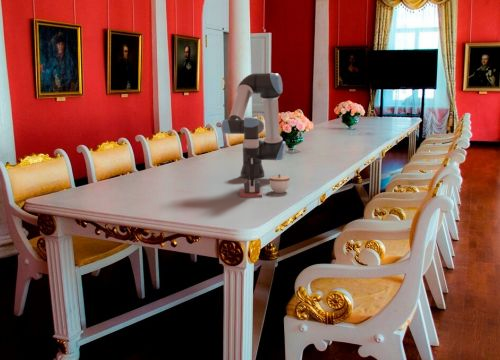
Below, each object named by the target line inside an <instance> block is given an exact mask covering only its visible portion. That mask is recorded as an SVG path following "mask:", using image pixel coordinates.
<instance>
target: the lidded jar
mask: <svg viewBox="0 0 500 360" xmlns="http://www.w3.org/2000/svg"><path fill="white" fill-rule="evenodd" d="M290 179H291V178H290V177H289V176H286V175H281V174H280V173H279V174H278V175H273V176H270V177H269V186H270V187H269V188H271V191H273V193H277V194H282V193H286V191H287V190H288V189H289V186H290Z"/></svg>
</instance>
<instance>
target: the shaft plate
mask: <svg viewBox="0 0 500 360" xmlns="http://www.w3.org/2000/svg"><path fill="white" fill-rule="evenodd" d="M262 197H263V192H262V188H260V192H251V193H244V188H240V198H262Z"/></svg>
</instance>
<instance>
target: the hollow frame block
mask: <svg viewBox="0 0 500 360" xmlns="http://www.w3.org/2000/svg"><path fill="white" fill-rule="evenodd" d="M243 183H244V184H243V185H244V188H243V189H244V193H251V192H250V188H249V180H244V181H243ZM260 189H261V182H260V180H255V192H260Z"/></svg>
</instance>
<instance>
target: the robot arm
mask: <svg viewBox="0 0 500 360" xmlns="http://www.w3.org/2000/svg"><path fill="white" fill-rule="evenodd" d="M283 87H284V85H283V81H282V77H281V75H280V74H279V73H273V72H265V73H264V72H262V73H261V72H260V73H259V72H258V73H257V72H256V73H250V74H249V75H246V77H245V76H244V78H243V79H242V80H241V81H240V82H239V84H238V86H237V89H236V93H237V94H236V96H235V100H234V101H233V105H232V108H231V110H230V114H229V116H228V119H224V120H222V122H221V131H222V133H224V134H228V135H236V134H237V135H243V137H244V138H243V141H242V167H241V169H240V173H239V174H240V177H241V178H243V179H247V181H249V188H250V192H255V181H256V180H255V179H258V178H264V177H265V170H264V167H263V164H262V163H263V161H275V162H276V161H282V160H284V157H285V153H286V148H287V147H286V145H287V144H286V143H287V142H286V141H284V140H283V139H284V138H283V137H282V136H281V134H280V133H281V132H280V118H279V113H280V112H279V100H278V99H279V98H280V97H281V94H282V93H283V90H284V89H283ZM255 94H256V95H257V94H260V98H261V99H262V101H263V114H264V115H263V116H264V122H263V121H262V120H261V119H259V118H258V117H256V116H254V117H253V116H248V117H246V116H245V113H246V110H247V108H248V104H249V102H250V99H251V97H252V96H253V95H255ZM244 116H245V117H244ZM264 130H265V137H264V138H263V140H262V138H259V135H260V134H261V133H262V132H263V131H264Z"/></svg>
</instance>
